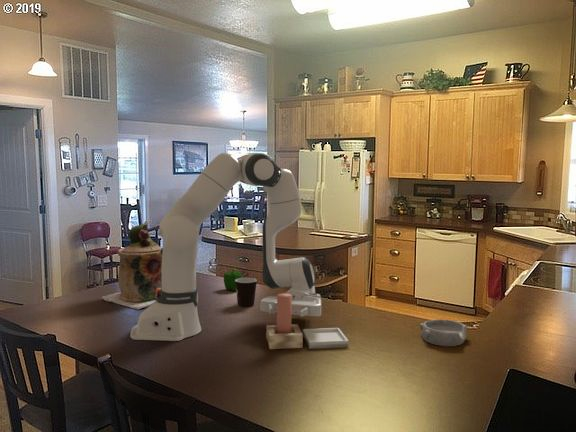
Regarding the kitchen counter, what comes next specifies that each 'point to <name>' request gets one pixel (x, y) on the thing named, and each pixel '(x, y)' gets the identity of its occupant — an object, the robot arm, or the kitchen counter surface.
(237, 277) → the bell pepper
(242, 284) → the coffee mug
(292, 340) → the socket block
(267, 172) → the robot arm
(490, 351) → the kitchen counter surface
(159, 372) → the kitchen counter surface
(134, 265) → the cookie jar
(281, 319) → the dowel
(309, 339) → the tray
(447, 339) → the dish
